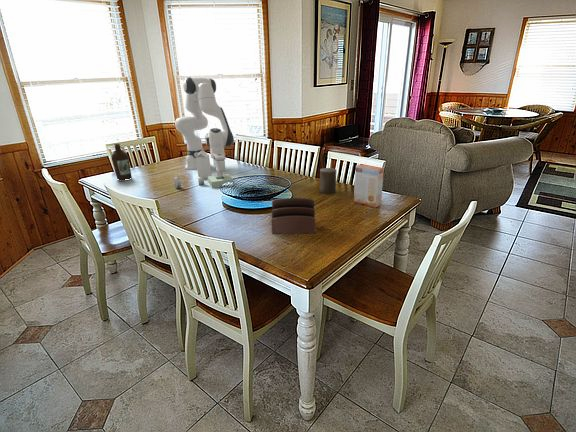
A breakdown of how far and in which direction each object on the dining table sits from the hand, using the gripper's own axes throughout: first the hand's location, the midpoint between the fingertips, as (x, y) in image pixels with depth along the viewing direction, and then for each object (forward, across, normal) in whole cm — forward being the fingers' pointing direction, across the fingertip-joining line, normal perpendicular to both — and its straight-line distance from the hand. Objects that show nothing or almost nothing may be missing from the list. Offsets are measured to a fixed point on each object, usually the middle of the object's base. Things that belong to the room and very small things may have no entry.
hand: (219, 175), depth 224 cm
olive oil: (+6, -40, -60) cm, 72 cm away
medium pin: (+6, -3, -27) cm, 28 cm away
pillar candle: (+6, +45, +56) cm, 72 cm away
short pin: (+6, -3, -12) cm, 14 cm away
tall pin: (+5, 0, 0) cm, 5 cm away
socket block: (+6, 0, 0) cm, 6 cm away
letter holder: (+6, +85, +17) cm, 87 cm away
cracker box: (+6, +72, +66) cm, 98 cm away
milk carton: (+6, -20, -7) cm, 22 cm away
